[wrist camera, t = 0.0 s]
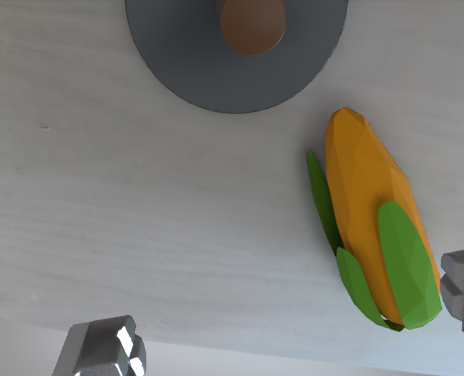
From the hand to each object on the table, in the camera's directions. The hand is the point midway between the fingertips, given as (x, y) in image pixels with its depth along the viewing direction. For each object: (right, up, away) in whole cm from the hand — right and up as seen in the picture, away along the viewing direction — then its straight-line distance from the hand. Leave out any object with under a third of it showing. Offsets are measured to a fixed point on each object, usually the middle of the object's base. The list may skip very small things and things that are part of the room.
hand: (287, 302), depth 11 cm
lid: (-1, +14, +15) cm, 21 cm away
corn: (+9, +2, +23) cm, 25 cm away
